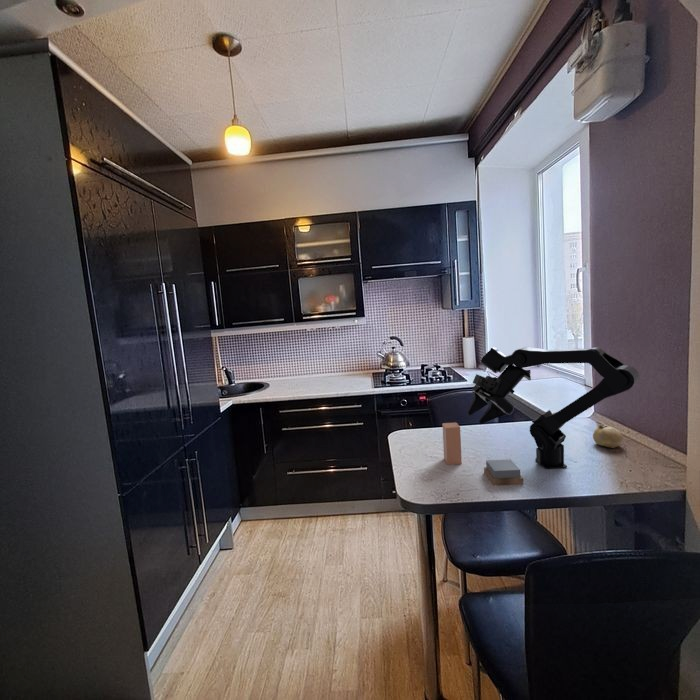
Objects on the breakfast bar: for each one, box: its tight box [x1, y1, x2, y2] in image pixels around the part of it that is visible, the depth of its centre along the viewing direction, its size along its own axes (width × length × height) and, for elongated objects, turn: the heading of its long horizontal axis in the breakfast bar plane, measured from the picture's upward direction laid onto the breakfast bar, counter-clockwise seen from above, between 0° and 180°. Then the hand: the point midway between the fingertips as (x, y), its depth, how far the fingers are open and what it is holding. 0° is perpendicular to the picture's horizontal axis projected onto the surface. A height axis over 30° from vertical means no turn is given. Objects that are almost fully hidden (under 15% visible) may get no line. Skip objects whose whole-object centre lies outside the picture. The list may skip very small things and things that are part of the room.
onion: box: [592, 423, 624, 449], centre depth 121 cm, size 8×8×7 cm
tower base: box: [483, 466, 524, 486], centre depth 105 cm, size 8×8×2 cm
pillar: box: [441, 422, 463, 466], centre depth 118 cm, size 4×4×12 cm
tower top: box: [485, 458, 521, 479], centre depth 105 cm, size 7×7×2 cm
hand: (473, 418), depth 117 cm, fingers open, 9 cm apart
